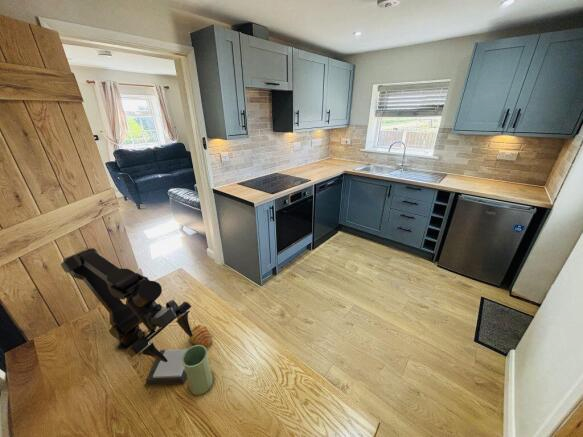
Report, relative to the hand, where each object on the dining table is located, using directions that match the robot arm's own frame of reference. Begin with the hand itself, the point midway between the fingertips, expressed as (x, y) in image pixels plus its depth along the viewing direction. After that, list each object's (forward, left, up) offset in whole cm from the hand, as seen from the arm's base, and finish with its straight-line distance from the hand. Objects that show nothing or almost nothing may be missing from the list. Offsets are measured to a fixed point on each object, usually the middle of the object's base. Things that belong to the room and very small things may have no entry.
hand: (179, 348), depth 72 cm
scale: (-6, +2, -12) cm, 14 cm away
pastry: (+1, +13, -12) cm, 18 cm away
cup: (+5, -3, -12) cm, 14 cm away
